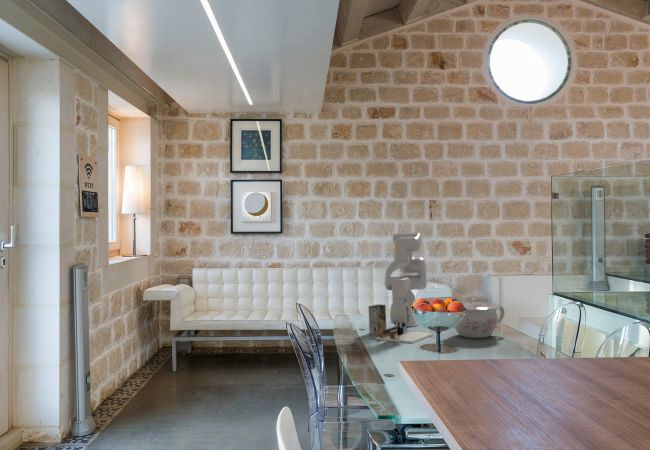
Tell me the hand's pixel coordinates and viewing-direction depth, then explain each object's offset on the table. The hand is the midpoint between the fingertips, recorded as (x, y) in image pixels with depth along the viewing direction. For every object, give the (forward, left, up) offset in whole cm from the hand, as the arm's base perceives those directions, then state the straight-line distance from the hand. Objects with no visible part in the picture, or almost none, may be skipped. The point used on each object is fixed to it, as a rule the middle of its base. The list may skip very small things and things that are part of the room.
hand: (400, 334), depth 296 cm
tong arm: (-4, -4, -1) cm, 6 cm away
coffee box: (-11, -21, -3) cm, 24 cm away
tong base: (-6, -8, -2) cm, 10 cm away
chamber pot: (-29, +31, -3) cm, 42 cm away
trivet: (-7, -1, -3) cm, 7 cm away
